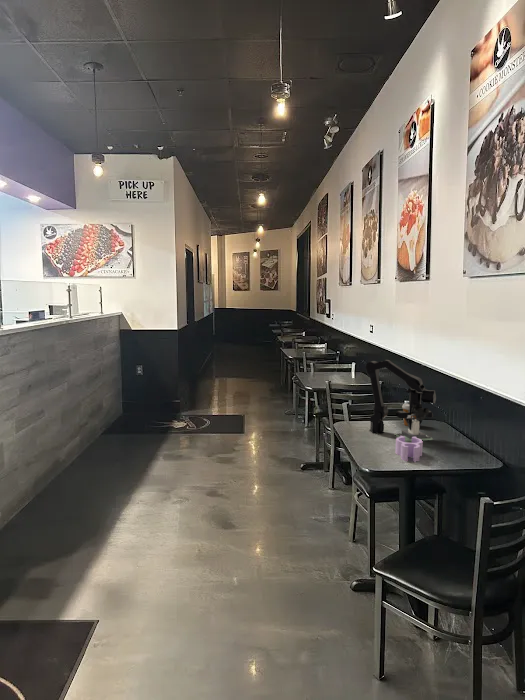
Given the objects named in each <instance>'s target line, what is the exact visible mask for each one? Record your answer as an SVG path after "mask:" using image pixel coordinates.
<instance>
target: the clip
mask: <svg viewBox="0 0 525 700" xmlns="http://www.w3.org/2000/svg"><path fill="white" fill-rule="evenodd" d="M423 441H424V440H423ZM423 441H422V440H421V439H419V438H417V437H412V441H411V442H408V441H405V437H404V436H400V437H396V438H395V451H394V452H395V454H396V455H398V456H399V455H400V456H399V457H400V459H402V460H401V461H403V460H404V462H408V461H409V458H408V457H413V458H412V462H413V461H414V463H417V462H416V461H418V462H420V456H421V457H422V456H423V446H424V445H423V443H424V442H423Z"/></svg>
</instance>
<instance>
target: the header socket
mask: <svg viewBox="0 0 525 700" xmlns="http://www.w3.org/2000/svg"><path fill="white" fill-rule="evenodd" d="M401 434H403V435H404V436H406V437H407V438H409V439H412V437H417V438H419V439H422V438H426V435H427V434H426V433H424V432H422V431H420V430H419V435H415V434H411V433H409V432H408V429H407V430H401Z"/></svg>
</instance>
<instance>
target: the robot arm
mask: <svg viewBox="0 0 525 700" xmlns="http://www.w3.org/2000/svg"><path fill="white" fill-rule="evenodd" d="M384 368H385V369H387V371H388V370H389V371H390V372H391V373H393V374H395V375H396V376H398V377H399V379H402V380H403V381H404V382H405V384H406V385H407V386H408V387H409V388H408V389H407V390H406V391H405V392H406V393H409V400H408V404H409V410H408V412H409V413H407V412H405V411H403V410H397V411H396V412H395V417H398V418H399V419H404V418H405V420H406V422H407V424H408V426H407V427H409V430H411V421H412V418H411V416H416V420H418V421H420V422H419V427H420V426H421V423H422V422H423V421H424V420H426V417H427V418H433V417H434V414H433V412H432V411H431V410H430V409H429V408H428V407H425V408H424V407H423V405H422V403H421V402H423V403H425V404H426V403H427V404H436V400H437V395H436V390H429V389H427V388H426V387H425V385H424V384H423V379H422V378H421V377H419V376H416V375H413V374H411V373H408V372H407V371H406V370H404V369H403V368H401V367H400V366H398V365H397V364H395V363H393V362H392V361H391V360H389V359H385V360H382V361H376V360H372V361H369V362H367V363H366V364H365V370H366V371H365V372H366V373H367V375H368V377H369V379H370V383H371V390H372V395H373V401H374V407H373V415H371V416H370V417H369V422H370V427H369V428H370V429H369V432H371V433H372V434H385V423H384V420H385V418H386V417H387V416H388V413H389V408H388V404H385V403H384V400H383V394H382V389H381V383H380V378H379V377H380V376H379V375H380V370H381V369H384Z"/></svg>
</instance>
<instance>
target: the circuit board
mask: <svg viewBox="0 0 525 700" xmlns="http://www.w3.org/2000/svg"><path fill="white" fill-rule="evenodd" d="M401 433H402V432H401ZM401 433H400V432H398V433H394V436H395V435H396V436H395V437H396V438H398V437H400V436H404V435H403V434H401ZM404 437H405V442H412V441H411V440H412V439H409V438H407V437H406V436H404ZM421 440H423V441H433V440H434V438H433V437H431V436H430V435H427V434H426V438H422V439H421Z"/></svg>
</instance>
